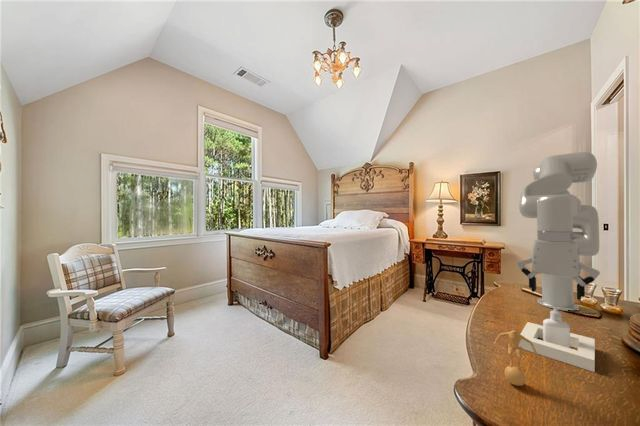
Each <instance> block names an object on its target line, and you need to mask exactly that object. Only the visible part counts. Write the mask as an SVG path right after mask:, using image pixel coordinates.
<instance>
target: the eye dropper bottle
mask: <svg viewBox="0 0 640 426" xmlns="http://www.w3.org/2000/svg"><path fill="white" fill-rule="evenodd" d="M549 314H550V316H549V318H545V319H544V320H543V321H542V326H543V338H542V341H546V342H549V343H553V344H556V345H560V346H563V347H567V348H570V349H571V346H570V333H571V328H570V327H571V326H570V324H569V323H568V322H565V321H563V318H562V317H563V316H562V313H561V312H560V310H558V308H556V307H554V309H552V310H549Z"/></svg>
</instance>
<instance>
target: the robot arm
mask: <svg viewBox="0 0 640 426" xmlns="http://www.w3.org/2000/svg"><path fill="white" fill-rule="evenodd" d="M597 169H598V162H597V158H596V156H595V155H594V154H593V153H591V152H589V151H581V152H580V151H579V152H571V153H562V154H557V155H552V156H548V157H546V158H544V159H543V160H542V161H541V163H540V165H539V166H536V167H535V168H534V169H533V173H532V175H533V180H534V181H531V182H530V183H528V184H527V185H525V187H524V188H523V189H522V191H521V193H520V198H519V205H518V206H519V212H520V214H521V215H522V216H523V217H524V218H527V219H536V222H537V223H536V225H537V226H536V228H537V229H536V230H537V235H536V236H537V237H536V238H537V239H535V240H534V242H533V247H532V255H531V257H530V258H527V259H524V260H521V261H517V263H516V264H517V266H518V267H519V269H520V271H521V272H522V273H523V274H524V275H525V276H527V278H528V288H529V289H531V292H533V293H534V292H536V290H537V278H536V276H537V274H539V275H541V291H542V292H541V293H542V295H541V296H542V297H539V298H537V304H539V305H541V306H543V307H546V308H549V309H552V310H554V307H556V308H558V311H564V312H569V311H568V310H577V309H579V310H580V305H578V304H576V303H574V301H575V300H574V299H575V298H574V297H575V296H574V281H575V282H576V283H577V285H576V299H577V300H578V301H581V300H582V298H585V297H586V292H585V287H586V286H587V285H589V284H590V283H593V282H594V281H595V280H596V279H597V277H598V276H599V275H600V274H601V271H599V270H598V269H595V268H593V267H590V266H589V265H586V264H585V263H582V262H581V257H580V256H584V257H594V256H596V255H598V254H599V251H600V222H599V220H600V219H599V218H600V217H599V212H598V210H597V208H596V207H595V206H593V205H588V204H582V202H581V199H580V198H578V197H577V196H576V195H574V194H571V193H570V191H569V188H570V187H571V186H572V184H576V183H587V182H589V181H592V180H593V178H594V177H595V174H596V172H597ZM574 229H579V230H581V231H574ZM529 264H531V271H530V270H529V269H528V268H526V266H525V265H529ZM582 270H583V271H585V272H588V273H589V275H587V276H586V277H585V278H583V277H582V276H581V275H580V274H581V271H582Z"/></svg>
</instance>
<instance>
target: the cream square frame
mask: <svg viewBox="0 0 640 426" xmlns="http://www.w3.org/2000/svg"><path fill="white" fill-rule="evenodd" d="M519 334H520V335H522V336H524V337H525V338H527V339H528V340H530V341H531V342H532V343H533V346H534V348H535V349H536V352H537V354H538V356H539V355H540V356H543V357H546V358H549V359H551V360H555V361H559V362H560V363H561V362H562V363H565V364H568V365H571V366H574V367H577V368H580V369H584V370H586V371H589V372H593V373H595V372H596V371H595V368H596V366H595V365H596V364H595V362H596V361H595V360H596V358H595V357H596V354H595V353H596V345H595V343H596V342H595V338H593V337H588V336H585V335H580V334H576V333H573V332H570V348H567V347H563V346H560V345H556V344H553V343H549V342H546V341H543V324H542V325H541V324H537V323H534V322H533V323H532V322H530V321H529V322H528V321H527V322H526V324H525V325H524V327H523V329H522V330H521V332H520V333H519ZM538 338H539V339H538ZM541 339H542V340H541ZM518 347H522V350H525V351H527V352H530V353H533V354H535V352H534V350H533V348H532V346H531V344H530V343H529V342H527V341H525V340H523V339H521V341H520V343H519V346H518ZM576 349H577V350H576Z"/></svg>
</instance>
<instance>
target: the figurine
mask: <svg viewBox="0 0 640 426" xmlns="http://www.w3.org/2000/svg"><path fill="white" fill-rule="evenodd" d="M520 334H521V333H520V332H519V331H517V330H515V329H512V330H511V331H506V332H501V333H499V334H498V335H497V337H496V338H495V340H494V342H493V346H494V347H496V345H497V342H498V341H499V339H500V338H501V337H503V336H504V337H505V336H507V337H508V338H509V340H510V343H508V344H507V347H508V348H507V349H508V350H507V352H508V357H509V365H507V366H506V367H505V368H504V376H505V378H506V380H507V381H508V382H509V383H510V384H512V385H513V386H519V387H521V386H523V385H525V384H526V383H527V376H526V374H525V372H524V371H523V370H522V368H521V361H522V358H523V349H522V347H518V346H519V343H520V341H521V339H523V340H525V341H527V342H529V343H530V344H531V346H532V348H533V350H534V352H535V353H534V356H535V357H536V359H539V354H537V352H536V349H535V348H534V346H533V343H532V342H531V341H530V340H528V339H527V338H525V337H524V336H522V335H520ZM514 350H515V354H516V355H517V366H516V365H514V364H513V363H514V362H513V354H514Z"/></svg>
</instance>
